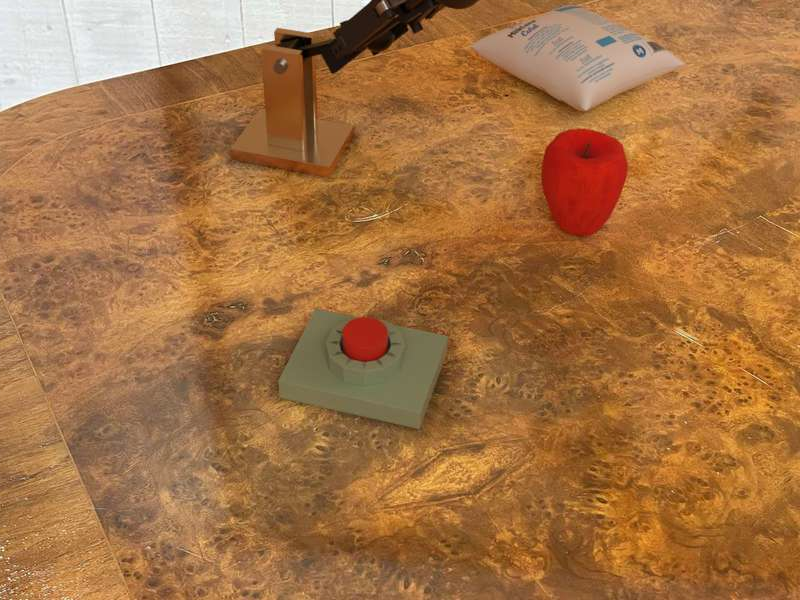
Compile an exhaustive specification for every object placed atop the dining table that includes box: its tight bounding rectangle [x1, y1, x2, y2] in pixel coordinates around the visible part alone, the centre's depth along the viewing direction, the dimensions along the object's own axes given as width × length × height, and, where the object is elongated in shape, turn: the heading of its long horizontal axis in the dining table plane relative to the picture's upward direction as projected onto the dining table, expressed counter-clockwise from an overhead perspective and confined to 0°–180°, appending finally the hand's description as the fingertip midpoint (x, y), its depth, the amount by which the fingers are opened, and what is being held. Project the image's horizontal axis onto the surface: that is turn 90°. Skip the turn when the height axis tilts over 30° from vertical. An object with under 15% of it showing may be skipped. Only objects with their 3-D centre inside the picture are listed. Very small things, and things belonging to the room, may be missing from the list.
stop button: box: [343, 316, 388, 362], centre depth 95 cm, size 4×4×2 cm
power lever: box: [276, 27, 395, 63], centre depth 115 cm, size 14×4×4 cm, turn 74°
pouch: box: [468, 4, 686, 112], centre depth 135 cm, size 8×19×20 cm
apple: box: [540, 128, 629, 237], centre depth 111 cm, size 9×9×11 cm
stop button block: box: [277, 307, 449, 430], centre depth 96 cm, size 13×10×4 cm
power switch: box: [230, 27, 355, 178], centre depth 121 cm, size 12×9×14 cm
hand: (349, 52), depth 116 cm, fingers open, 5 cm apart
